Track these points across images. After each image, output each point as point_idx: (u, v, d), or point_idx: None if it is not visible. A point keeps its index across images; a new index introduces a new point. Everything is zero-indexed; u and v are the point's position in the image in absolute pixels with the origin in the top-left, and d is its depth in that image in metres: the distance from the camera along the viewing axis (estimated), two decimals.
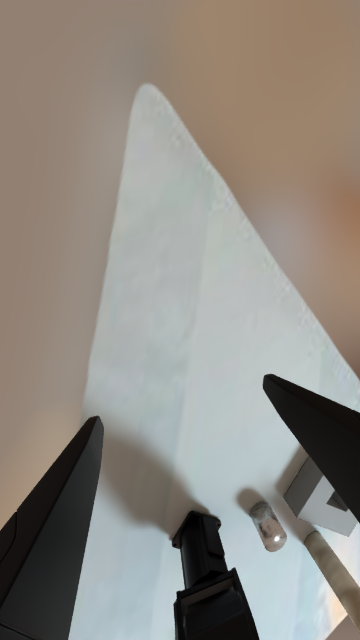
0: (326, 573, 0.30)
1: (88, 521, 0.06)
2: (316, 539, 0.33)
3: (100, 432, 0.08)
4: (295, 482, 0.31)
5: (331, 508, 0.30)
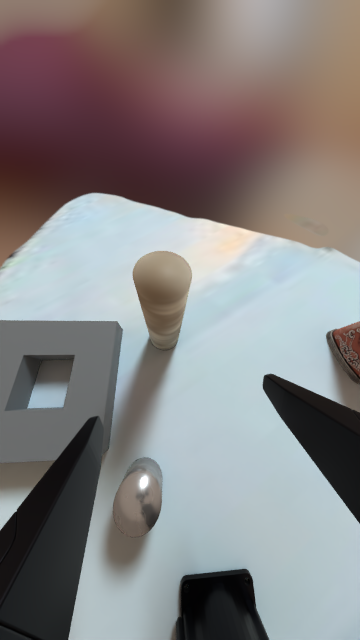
0: (168, 340, 0.20)
1: (88, 521, 0.06)
2: (154, 344, 0.23)
3: (100, 432, 0.08)
4: None
5: (71, 389, 0.18)
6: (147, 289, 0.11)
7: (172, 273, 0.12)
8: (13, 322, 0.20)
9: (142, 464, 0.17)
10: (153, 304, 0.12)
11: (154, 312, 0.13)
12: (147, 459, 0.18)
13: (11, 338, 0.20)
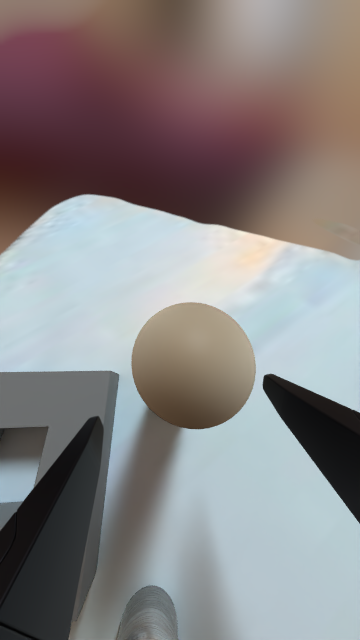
0: None
1: (88, 521, 0.06)
2: None
3: (100, 432, 0.08)
4: None
5: None
6: (164, 403, 0.05)
7: (215, 355, 0.06)
8: None
9: (147, 618, 0.11)
10: None
11: None
12: (154, 593, 0.12)
13: None
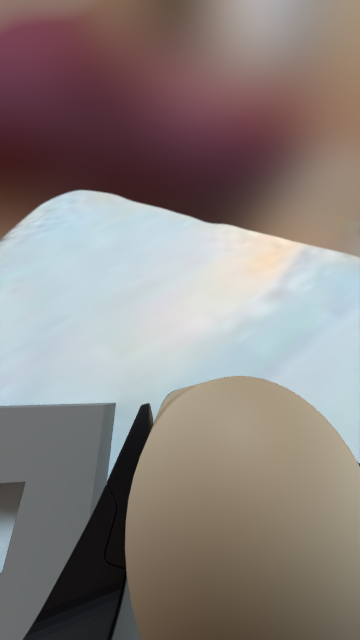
0: None
1: None
2: None
3: (152, 419, 0.08)
4: None
5: (11, 568, 0.09)
6: None
7: (300, 506, 0.03)
8: None
9: None
10: None
11: None
12: None
13: None
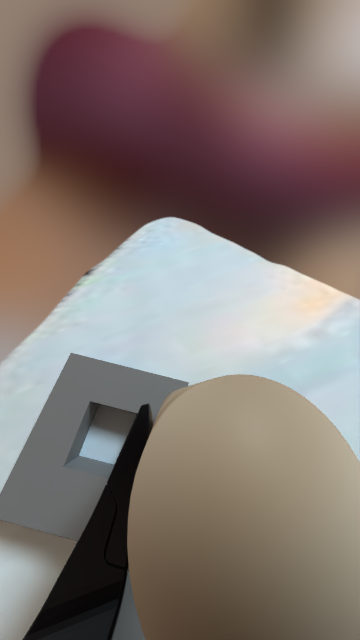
0: None
1: None
2: None
3: (152, 419, 0.08)
4: None
5: None
6: None
7: (300, 504, 0.03)
8: (85, 358, 0.19)
9: None
10: None
11: None
12: None
13: (80, 378, 0.19)
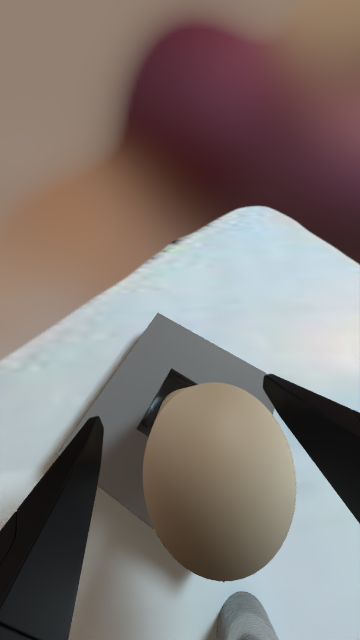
0: None
1: (88, 521, 0.06)
2: None
3: (100, 432, 0.08)
4: None
5: None
6: (185, 540, 0.04)
7: (246, 462, 0.04)
8: (171, 322, 0.18)
9: (268, 629, 0.11)
10: None
11: None
12: (262, 608, 0.12)
13: (164, 341, 0.17)
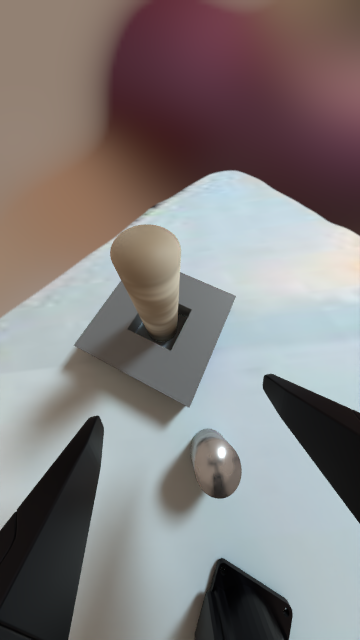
0: (165, 331, 0.18)
1: (88, 521, 0.06)
2: (151, 336, 0.21)
3: (100, 432, 0.08)
4: None
5: (182, 337, 0.19)
6: (128, 270, 0.09)
7: (158, 249, 0.10)
8: None
9: (220, 436, 0.17)
10: (138, 288, 0.10)
11: (142, 298, 0.11)
12: (220, 434, 0.18)
13: None
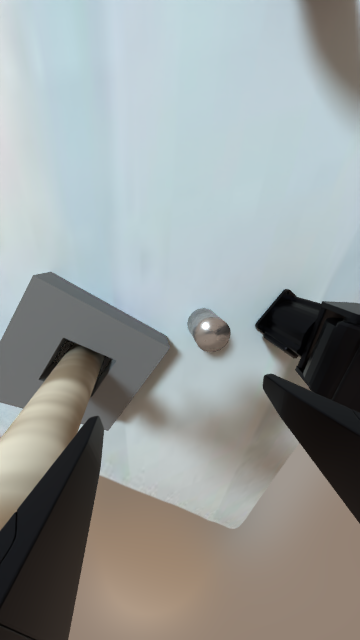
0: (95, 371, 0.17)
1: (88, 521, 0.06)
2: None
3: (100, 432, 0.08)
4: None
5: (101, 350, 0.18)
6: None
7: None
8: None
9: (195, 320, 0.20)
10: None
11: None
12: (193, 314, 0.21)
13: (9, 386, 0.17)
